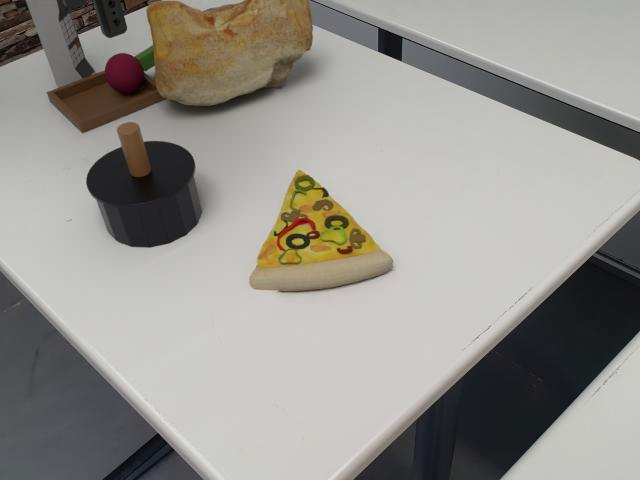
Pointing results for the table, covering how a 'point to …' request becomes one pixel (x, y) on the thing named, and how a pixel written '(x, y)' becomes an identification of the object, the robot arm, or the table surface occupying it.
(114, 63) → the beet
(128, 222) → the pot
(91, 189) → the lid
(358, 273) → the pizza slice
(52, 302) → the table surface
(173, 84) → the bread loaf
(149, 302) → the table surface
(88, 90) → the tray
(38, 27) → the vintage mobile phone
